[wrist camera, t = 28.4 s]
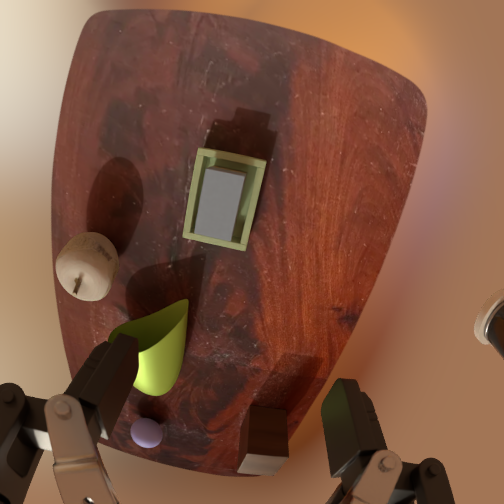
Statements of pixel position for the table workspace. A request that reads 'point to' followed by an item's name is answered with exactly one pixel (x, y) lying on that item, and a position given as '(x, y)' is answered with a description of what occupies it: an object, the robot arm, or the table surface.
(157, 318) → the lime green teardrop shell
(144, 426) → the sphere
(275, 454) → the stand
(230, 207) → the rubber pad
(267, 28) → the table surface
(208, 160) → the olive green tray
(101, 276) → the decorative object
